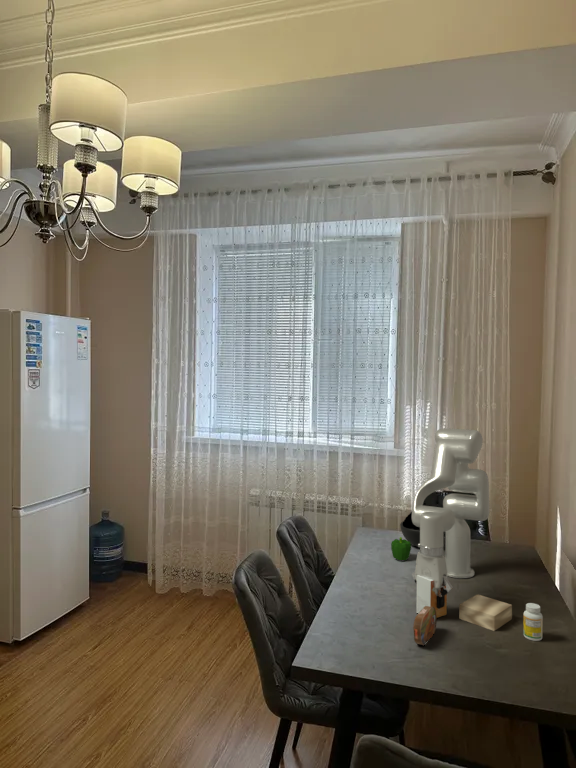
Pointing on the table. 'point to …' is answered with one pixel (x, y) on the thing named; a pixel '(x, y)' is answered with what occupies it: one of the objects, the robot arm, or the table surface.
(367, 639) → the table surface
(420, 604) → the small box
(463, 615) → the birch block
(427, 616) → the tin
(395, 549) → the bell pepper
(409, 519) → the coal bowl
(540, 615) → the supplement bottle
